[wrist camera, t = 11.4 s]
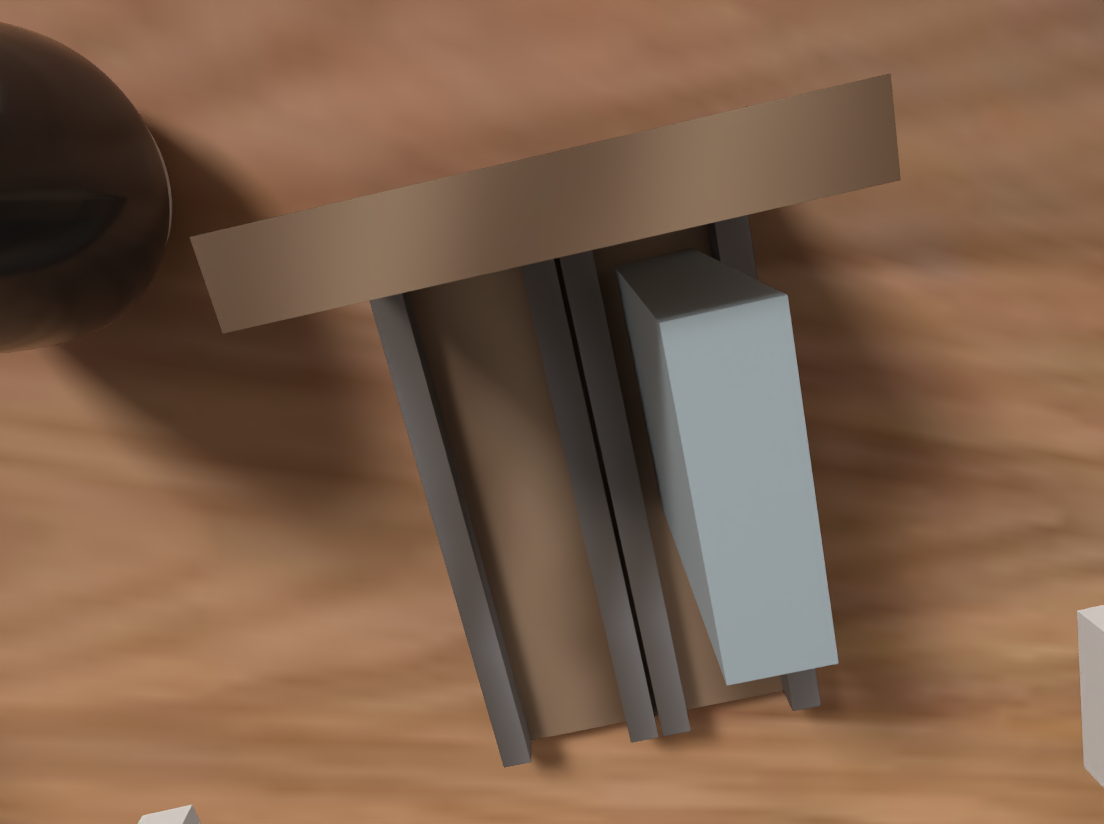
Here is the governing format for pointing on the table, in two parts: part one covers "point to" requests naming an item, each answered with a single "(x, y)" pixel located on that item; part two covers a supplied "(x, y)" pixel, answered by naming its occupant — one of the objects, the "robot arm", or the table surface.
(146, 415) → the table surface
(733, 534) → the pale grey rectangular block
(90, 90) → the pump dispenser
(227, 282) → the track sill
